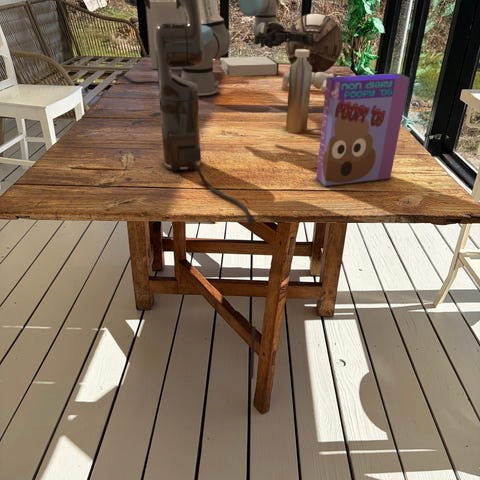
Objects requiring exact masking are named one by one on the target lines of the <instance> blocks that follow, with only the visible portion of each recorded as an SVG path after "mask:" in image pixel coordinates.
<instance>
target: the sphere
mask: <svg viewBox="0 0 480 480" xmlns="http://www.w3.org/2000/svg"><path fill="white" fill-rule="evenodd" d="M341 30H342V29H341V28H340V26H339V25H338V23H337V22H336V21H335V20H334V19H333V18H332V17H330V16H329V15H327V14H325V13H320V12H312V13H311V12H309V13H307V14H304V15H302V16H300V17H298V19H296V20H295V21H294V22H292V24H291V26H290V27H289V29H288V31H292V33H293V31H297V32H302V33H307V32H309V33H310V34H314V39H313V46H309V45H307V44H305V43H304V42H295V41H292V42H284V49H285V54H286V57H287V60H288V62H289V63H290V65H292V64H293V63H294V62H295V61H296V60H297V57H296V56H295V50H297V49H306V50H309V57H307V60H306V61H308V63H309V64H310V65H311V66H312V73H313V72H314V73H317V72H324V73H326V72H327V71H328V70H330V69H331V68H332V67H333V66H335V64H336V63H337V61H338V60H339V58H340V56H341V54H342V51H343V44H344V39H343V33H342V31H341ZM287 40H288V39H287Z"/></svg>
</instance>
